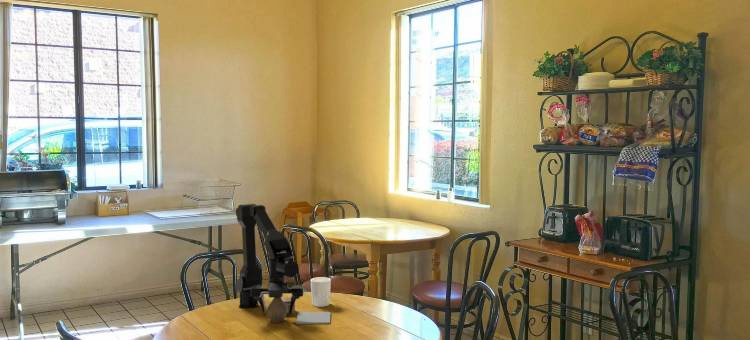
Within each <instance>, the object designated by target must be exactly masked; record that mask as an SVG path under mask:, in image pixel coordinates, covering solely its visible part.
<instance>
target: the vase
mask: <svg viewBox="0 0 750 340" xmlns="http://www.w3.org/2000/svg"><path fill="white" fill-rule="evenodd" d="M287 315H288V314H287V307H286V304H285V303H284V302H283V300H282V297H280V298H278V297H273V299H272V300H271V302H269V305H268V307H267V316H268V319H269V320H270V321H271V322H273V323H282V322H283V321H284V320H285V319H286V317H287Z"/></svg>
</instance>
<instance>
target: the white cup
mask: <svg viewBox="0 0 750 340" xmlns="http://www.w3.org/2000/svg"><path fill="white" fill-rule="evenodd" d="M331 284H332V278H329V277H323V276H318V277H313V278H311V279H310V293H311V304H312V306H314V307H317V308H318V307H319V308H322V307H327V306H329V305H330V297H331Z"/></svg>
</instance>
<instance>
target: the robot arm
mask: <svg viewBox="0 0 750 340" xmlns="http://www.w3.org/2000/svg"><path fill="white" fill-rule="evenodd" d="M235 215H236V221H237V222H238V224H239V225H240V227H241V233H242V234H241V237H242V257H243V258H242V259H243V265H242V267H241V269H240V271H239V277H238V280H237V281H236V283H235V291H237V292H239V306H238V308H240V309H241V308H256V307H257V306H258V305H260V308H261V311H262V313H263V316H265V315H266V303H265V302H266V301H265V294H268V298H274V297H278V298H280V297H281V298H283V294H291V297H290V298H291V303H290V310H289V314H288V315H292V314H291V312H292V308H293V305H294V303H295V304H296V301H297V300H298V299H299V300H300V298H301V297H304V294H305V293H304V292H305V291H304V290H305V287H304V286H303V285H300V284H298V285H297V284H296V285H292V287H289V283H288V282H286V277H287V278H290V279H291V278H294V277H295V276H297V274H298V273H299V271H300V270H299V269H300V267H299V265H298V263H297V261H295V260H294V259H295V257H293V256H294V254H293V250H292V246H291V245H290V242H289V240H288V239H287V237H286V236H285V234H284V233H282V232H281V231H279V230H277V228H276V227H275V225H274V223H273V221H272V220H271V218H270V216H269V214H268V212H267V210H266V206H265V205H263V204H256V203H246V204H245V203H244V204H239V205H237V207H236V209H235ZM256 225H257V226H258V227H259V229H260V231H261V233H262V235H263V237H264V246H265V249H266V252H267V253H268V254H267V255H266V257H267V258H268V259H269V260H268V262H269V263H268V269H269V270H268V273H269V274H268V275H269V276H268V284H267V288H266V287H265V288H264V286H263V281H264V279H263V274H262V273H263V270H262V269H261V268H260V267H259V266H258V264H257V251H256V250H257V248H256V245H257V244H256V229H255V228H256Z"/></svg>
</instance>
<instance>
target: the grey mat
mask: <svg viewBox="0 0 750 340" xmlns="http://www.w3.org/2000/svg"><path fill="white" fill-rule="evenodd" d="M295 321H296V322H295V325H330V324H331V311H330V312H329V311H310V312H309V311H305V312H303V311H298V313H297V316H296V320H295Z"/></svg>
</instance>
